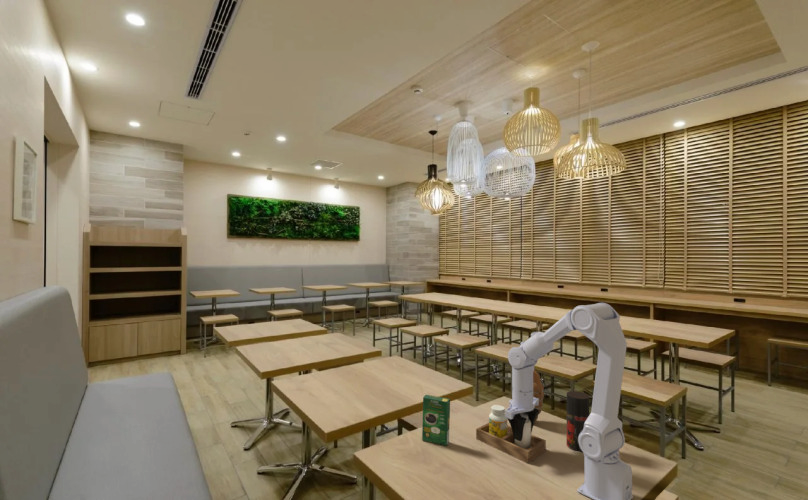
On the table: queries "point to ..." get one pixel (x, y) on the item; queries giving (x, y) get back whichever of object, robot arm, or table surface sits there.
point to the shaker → (525, 434)
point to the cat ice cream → (538, 391)
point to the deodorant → (576, 417)
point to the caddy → (511, 444)
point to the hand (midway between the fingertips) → (522, 436)
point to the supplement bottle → (498, 421)
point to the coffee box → (436, 419)
